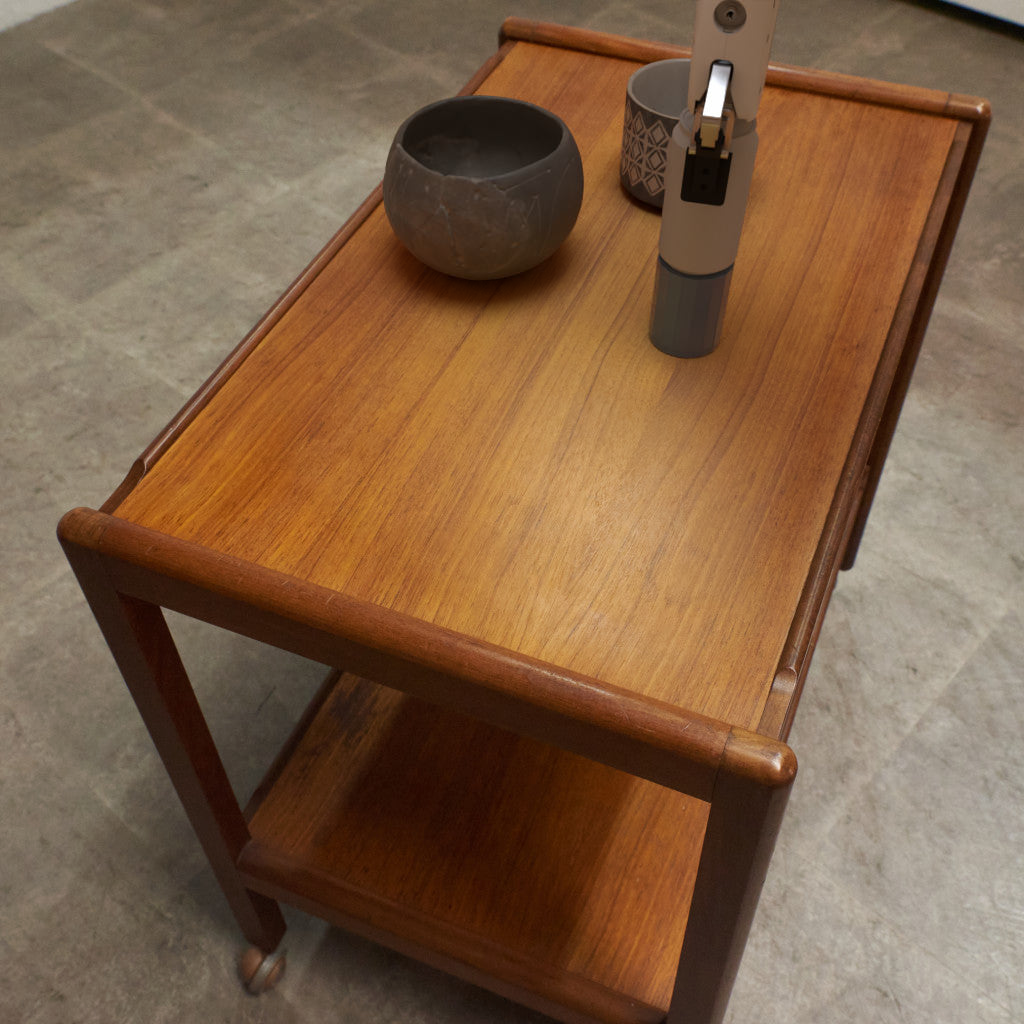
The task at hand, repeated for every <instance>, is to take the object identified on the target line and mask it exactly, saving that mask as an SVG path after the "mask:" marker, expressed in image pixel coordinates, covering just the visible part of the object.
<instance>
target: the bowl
mask: <svg viewBox="0 0 1024 1024" xmlns="http://www.w3.org/2000/svg"><path fill="white" fill-rule="evenodd" d="M584 190H585V175H584V166H583V160H582V156H581V153H580V150H579V147H578V144H577V142H576V140H575V137H574V135H573V133H572V131H571V129H570V128H569V127H568V125H567V124H566V123H565V121H564V120H563V119H562V118H561V117H559V116H558V115H557V114H555V113H553V112H551V111H550V110H548V109H546V108H544V107H542V106H539V105H537V104H534V103H532V102H528V101H525V100H522V99H517V98H510V97H505V96H498V95H487V94H469V95H460V96H454V97H448V98H444V99H440V100H437V101H434V102H431V103H428V104H427V105H425V106H423V107H421V108H419V109H417V110H416V111H415V112H413V113H412V114H411V115H409V117H407V118H406V119H405V120H404V121H403V122H402V123H401V124H400V126H399V127H398V129H397V130H396V132H395V135H394V136H393V140H392V142H391V144H390V148H389V150H388V154H387V158H386V161H385V167H384V173H383V181H382V200H383V207H384V211H385V214H386V218H387V220H388V224H389V226H390V227H391V230H392V232H393V233H394V235H395V236H396V237H397V239H398V240H399V242H400V243H401V244H402V245H403V246H404V248H405V249H406V250H407V251H408V252H409V253H410V254H411V255H413V257H415V258H416V259H417V260H419V261H420V262H421V263H423V264H424V265H426V266H428V267H429V268H430V269H433V270H435V271H436V272H439V273H442V274H445V275H447V276H451V277H455V278H459V279H465V280H470V281H489V280H498V279H504V278H508V277H511V276H515V275H518V274H520V273H523V272H527V271H528V270H530V269H533V268H534V267H537V266H539V265H540V264H542V263H543V262H544V261H546V260H547V259H548V258H550V257H551V256H552V255H553V254H554V253H555V252H556V251H557V250H559V248H560V247H561V246H562V245H563V244H564V243H565V242H566V240H567V239H568V237H570V234H571V233H572V232H573V229H574V227H575V225H576V223H577V221H578V218H579V215H580V212H581V210H582V209H581V208H582V205H583V199H584V192H585V191H584Z"/></svg>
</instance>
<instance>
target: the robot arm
mask: <svg viewBox="0 0 1024 1024" xmlns="http://www.w3.org/2000/svg"><path fill="white" fill-rule="evenodd" d="M780 2H781V0H697V1H696V9H695V18H694V26H693V34H692V45H691V52H690V53H691V54H690V55H691V56H690V58H691V64H690V75H689V88H688V102H687V108H688V109H689V111H690V112H691V113H692V114H693V115H695V119H694V124H693V129H692V135H691V140H690V146H689V147H687V150H686V157H685V164H684V172H683V179H682V187H681V194H680V198H681V200H683V201H685V202H692V203H699V204H706V205H713V206H722V205H723V204H724V201H725V197H726V191H727V185H728V179H729V173H730V167H731V161H732V155H733V153H732V152H729V150H730V145H731V139H732V134H733V129H734V123H735V120H736V115H737V117H738V119H747V120H746V122H751V121H752V120H754V119H755V118H756V117H758V114H759V110H760V105H761V102H762V98H763V92H764V89H765V84H766V78H767V73H768V69H769V64H770V63H769V62H770V58H771V52H772V47H773V41H774V36H775V30H776V25H777V19H778V15H779V14H778V13H779V8H780ZM704 102H705V106H703V104H704ZM725 103H729V104H732V108H731V109H725V108H724V104H725ZM756 119H757V118H756ZM721 121H727V123H726V128H725V133H723V130H720V127H721Z"/></svg>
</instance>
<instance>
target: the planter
mask: <svg viewBox="0 0 1024 1024" xmlns="http://www.w3.org/2000/svg"><path fill="white" fill-rule="evenodd" d="M690 64H691V57H679V58H668V59H662V60H658V61H653V62H650V63H648V64H646V65H643V66H641V67H639V68H638V69H636V70H635V71H634V72H633V73H632V74H631V75H630V76H629V78H628V79H627V82H626V91H625V101H624V102H625V103H624V112H623V113H624V115H623V127H622V138H621V149H620V161H619V162H620V163H619V172H618V173H619V179H620V181H621V183H622V186H623V187H624V188H625V190H626V191H627V192H628V193H629V194H631V195H632V196H633V197H635V198H636V199H638V200H639V201H641V202H643V203H645V204H648V205H650V206H654V207H656V208H661V209H663V204H664V196H665V188H666V180H667V172H668V164H669V156H670V148H671V140H672V132H673V129H674V127H675V126H676V125H677V124H678V122H679V118H680V114H681V112H682V111H683V110H684V109H685V108H687V102H688V88H689V75H690ZM757 117H758V116H757ZM757 117H756V119H757Z"/></svg>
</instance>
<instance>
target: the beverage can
mask: <svg viewBox="0 0 1024 1024" xmlns="http://www.w3.org/2000/svg"><path fill="white" fill-rule="evenodd" d="M703 106H705V102H704V104H703ZM724 108H725V109H731V108H732V104H729V103H725V104H724ZM694 119H695V115H693V114H692V113H691V112H690V111H689V109H688V108H685V109H684V110H683V111H682V112H681V114H680V118H679V122H678V124H677V125H676V126H675V127H674V129H673V132H672V140H671V148H670V156H669V164H668V172H667V180H666V188H665V196H664V204H663V208H662V213H661V221H660V229H659V235H658V236H659V237H658V246H657V247H658V253H660V255H661V257H662V258H663V259H664V260H665V261H666V262H667V263H668V264H669V265H670V266H671V267H672V268H673V269H675V270H677V271H679V272H681V273H685V274H689V275H709V274H713V273H716V272H718V271H721V270H723V269H726V268H727V267H729V266H730V265H731V264H732V263H733V262H734V261H735V262H736V259H737V257H738V253H739V248H740V242H741V238H742V232H743V226H744V221H745V216H746V212H747V206H748V200H749V196H750V190H751V185H752V179H753V174H754V170H755V165H756V158H757V155H758V154H757V153H758V148H759V144H760V143H759V142H760V136H759V134H758V131H757V126H758V122H757V118H755V119H754V120H752V121H751V122H746V120H747V119H738V117H737V115H736V120H735V123H734V129H733V134H732V139H731V145H730V150H729V152H732V153H733V155H732V161H731V167H730V173H729V179H728V185H727V191H726V197H725V201H724V204H723V205H722V206H713V205H706V204H699V203H692V202H685V201H683V200H681V198H680V194H681V187H682V179H683V172H684V164H685V157H686V150H687V147H689V146H690V140H691V135H692V129H693V124H694ZM726 123H727V121H721V127H720V130H723V133H725V128H726Z"/></svg>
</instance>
